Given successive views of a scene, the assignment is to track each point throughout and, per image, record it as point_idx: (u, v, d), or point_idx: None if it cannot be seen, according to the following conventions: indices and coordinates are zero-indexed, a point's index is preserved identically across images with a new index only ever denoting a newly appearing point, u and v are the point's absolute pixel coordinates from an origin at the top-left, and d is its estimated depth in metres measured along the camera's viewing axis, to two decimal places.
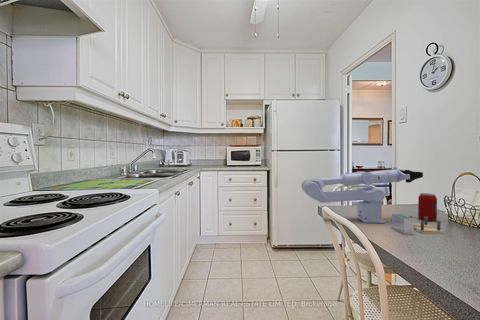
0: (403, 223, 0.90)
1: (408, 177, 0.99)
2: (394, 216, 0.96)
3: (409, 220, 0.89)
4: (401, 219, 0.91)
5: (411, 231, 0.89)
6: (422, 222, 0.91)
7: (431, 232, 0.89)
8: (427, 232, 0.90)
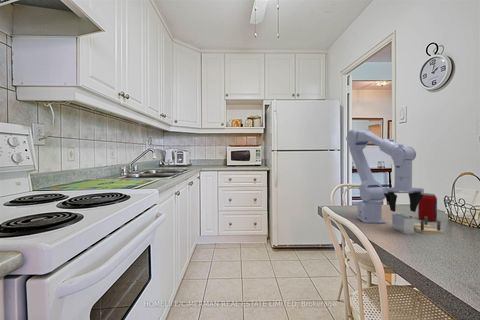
0: (403, 223, 0.90)
1: (383, 191, 0.94)
2: (394, 216, 0.96)
3: (409, 220, 0.89)
4: (401, 219, 0.91)
5: (411, 231, 0.89)
6: (422, 222, 0.91)
7: (431, 232, 0.89)
8: (427, 232, 0.90)
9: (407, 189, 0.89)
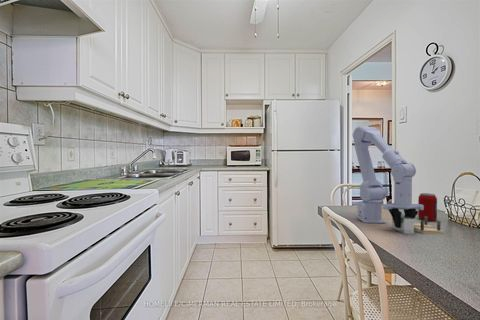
0: (403, 223, 0.90)
1: (383, 207, 0.94)
2: None
3: (409, 220, 0.89)
4: (401, 219, 0.91)
5: (411, 231, 0.89)
6: (422, 222, 0.91)
7: (431, 232, 0.89)
8: (427, 232, 0.90)
9: (407, 206, 0.90)
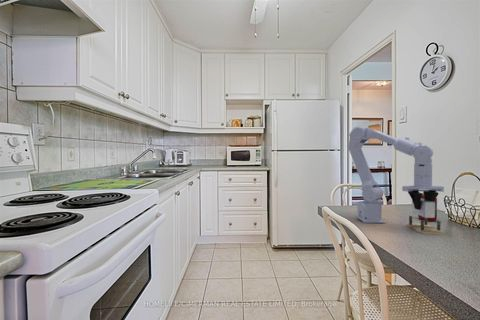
0: (424, 206, 0.90)
1: (403, 189, 0.95)
2: None
3: (430, 203, 0.90)
4: (422, 203, 0.92)
5: (432, 214, 0.90)
6: (422, 222, 0.91)
7: (431, 232, 0.89)
8: (427, 232, 0.90)
9: (427, 187, 0.91)
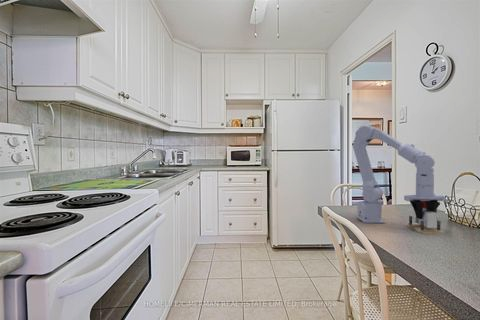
0: (426, 216, 0.91)
1: (405, 199, 0.95)
2: None
3: (432, 213, 0.90)
4: (424, 213, 0.92)
5: (434, 224, 0.90)
6: (422, 222, 0.91)
7: (431, 232, 0.89)
8: (427, 232, 0.90)
9: (429, 197, 0.91)
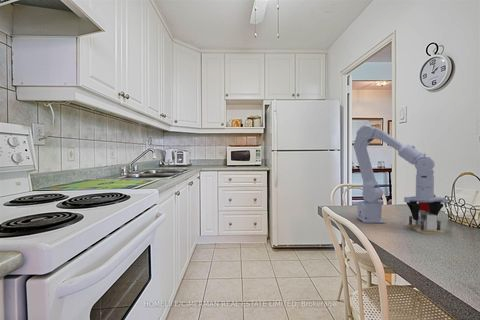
0: (426, 219, 0.91)
1: (405, 200, 0.95)
2: None
3: (432, 216, 0.90)
4: (423, 215, 0.92)
5: (434, 227, 0.90)
6: (422, 222, 0.91)
7: (431, 232, 0.89)
8: (427, 232, 0.90)
9: (429, 199, 0.91)
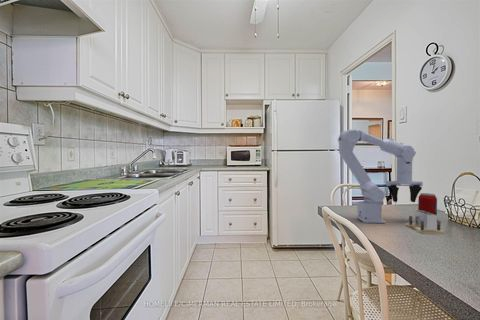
0: (426, 219, 0.91)
1: (386, 184, 1.07)
2: (416, 212, 0.97)
3: (432, 216, 0.90)
4: (423, 215, 0.92)
5: (434, 227, 0.90)
6: (422, 222, 0.91)
7: (431, 232, 0.89)
8: (427, 232, 0.90)
9: (407, 182, 1.02)
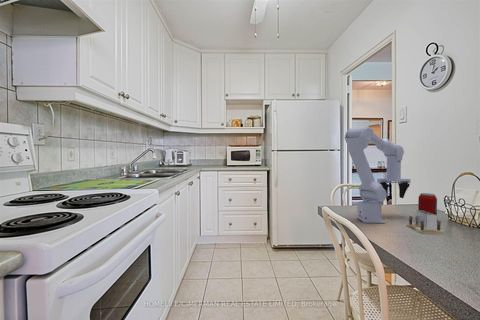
0: (426, 219, 0.91)
1: (377, 181, 1.14)
2: (416, 212, 0.97)
3: (432, 216, 0.90)
4: (423, 215, 0.92)
5: (434, 227, 0.90)
6: (422, 222, 0.91)
7: (431, 232, 0.89)
8: (427, 232, 0.90)
9: (396, 179, 1.10)
